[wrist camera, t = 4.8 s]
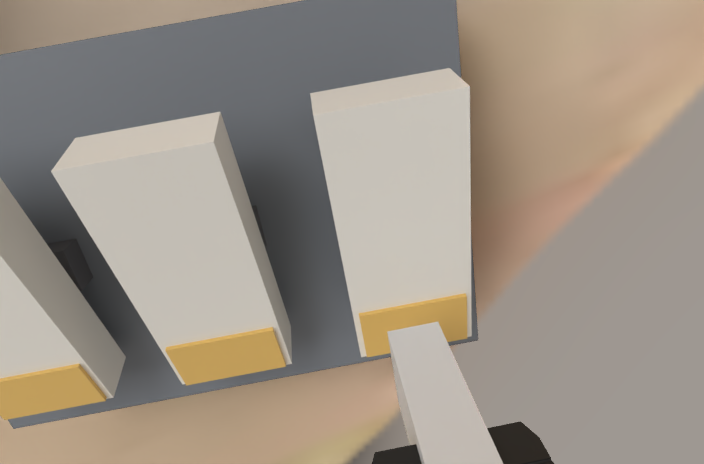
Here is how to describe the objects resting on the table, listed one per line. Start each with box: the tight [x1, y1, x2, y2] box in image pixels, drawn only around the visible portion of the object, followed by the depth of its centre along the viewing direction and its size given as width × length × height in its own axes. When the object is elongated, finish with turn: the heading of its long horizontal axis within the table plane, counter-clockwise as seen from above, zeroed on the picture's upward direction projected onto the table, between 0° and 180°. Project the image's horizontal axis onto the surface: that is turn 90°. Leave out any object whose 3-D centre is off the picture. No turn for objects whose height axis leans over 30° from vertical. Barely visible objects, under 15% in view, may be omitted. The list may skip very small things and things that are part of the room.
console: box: [0, 0, 478, 429], centre depth 19 cm, size 14×20×6 cm
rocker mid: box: [51, 112, 292, 386], centre depth 15 cm, size 9×4×2 cm, turn 9°
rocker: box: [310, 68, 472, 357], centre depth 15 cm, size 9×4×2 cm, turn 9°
